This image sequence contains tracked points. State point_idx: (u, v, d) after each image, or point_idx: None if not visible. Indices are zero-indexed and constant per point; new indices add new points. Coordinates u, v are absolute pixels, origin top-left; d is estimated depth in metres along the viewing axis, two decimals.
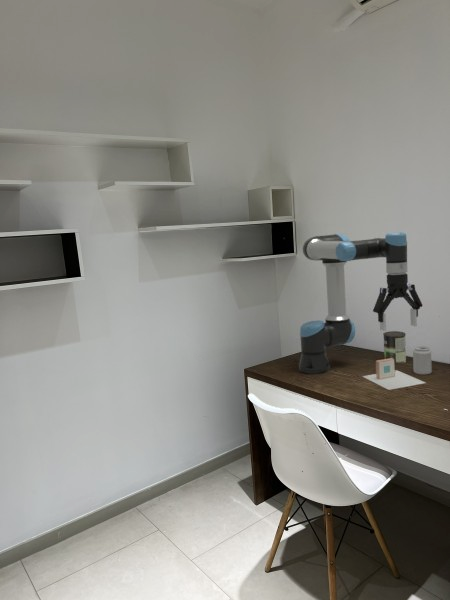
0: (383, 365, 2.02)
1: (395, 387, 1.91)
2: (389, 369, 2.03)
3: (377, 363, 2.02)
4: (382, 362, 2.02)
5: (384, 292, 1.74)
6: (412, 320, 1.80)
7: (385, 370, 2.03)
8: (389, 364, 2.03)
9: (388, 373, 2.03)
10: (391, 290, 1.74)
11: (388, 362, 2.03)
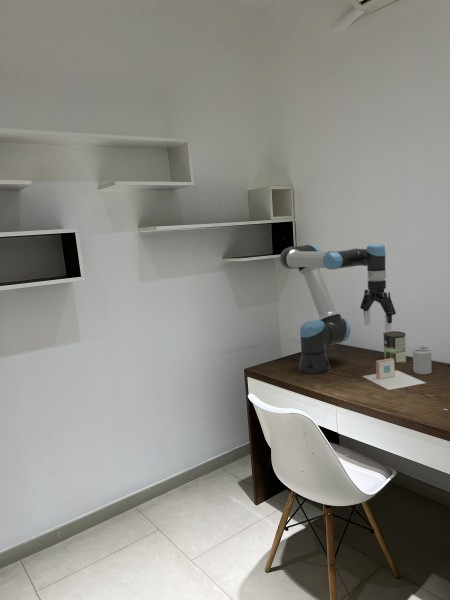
0: (383, 365, 2.02)
1: (395, 387, 1.91)
2: (389, 369, 2.03)
3: (377, 363, 2.02)
4: (382, 362, 2.02)
5: (365, 293, 2.07)
6: None
7: (385, 370, 2.03)
8: (389, 364, 2.03)
9: (388, 373, 2.03)
10: (369, 293, 2.04)
11: (388, 362, 2.03)
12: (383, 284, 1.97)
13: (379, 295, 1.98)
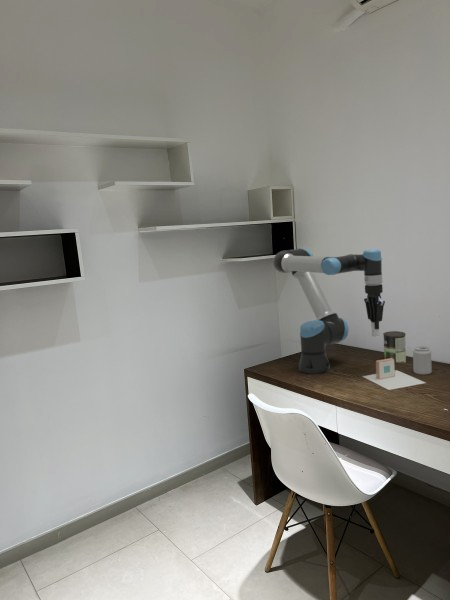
0: (383, 365, 2.02)
1: (395, 387, 1.91)
2: (389, 369, 2.03)
3: (377, 363, 2.02)
4: (382, 362, 2.02)
5: (365, 302, 2.11)
6: None
7: (385, 370, 2.03)
8: (389, 364, 2.03)
9: (388, 373, 2.03)
10: (367, 297, 2.09)
11: (388, 362, 2.03)
12: (379, 288, 2.02)
13: (375, 299, 2.03)
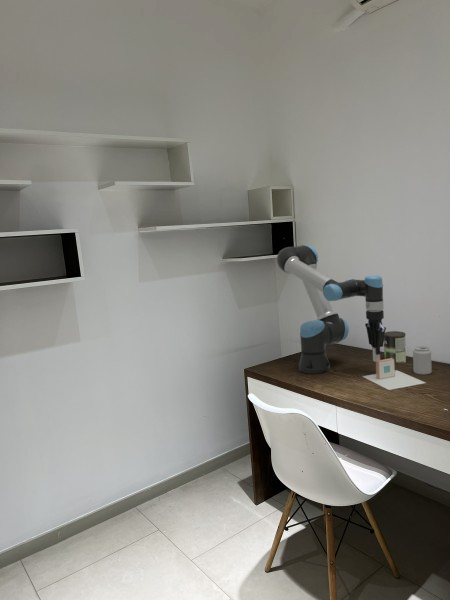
0: (383, 365, 2.02)
1: (395, 387, 1.91)
2: (389, 369, 2.03)
3: (377, 363, 2.02)
4: (382, 362, 2.02)
5: (366, 327, 2.13)
6: None
7: (385, 370, 2.03)
8: (389, 364, 2.03)
9: (388, 373, 2.03)
10: (368, 322, 2.10)
11: (388, 362, 2.03)
12: (380, 314, 2.04)
13: (376, 325, 2.04)
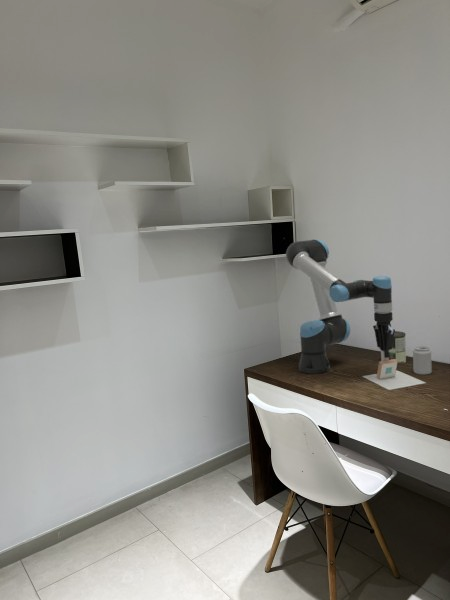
0: (385, 367, 2.00)
1: (395, 387, 1.91)
2: (391, 370, 2.02)
3: (380, 364, 2.00)
4: (385, 364, 2.00)
5: (374, 329, 2.06)
6: None
7: (387, 371, 2.02)
8: (391, 365, 2.01)
9: (389, 373, 2.03)
10: (377, 324, 2.04)
11: (391, 364, 2.01)
12: (389, 316, 1.97)
13: (385, 327, 1.98)
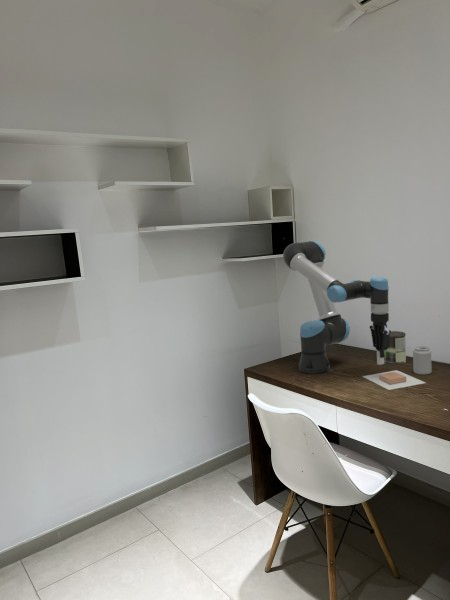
0: None
1: (395, 387, 1.91)
2: None
3: (388, 381, 1.96)
4: None
5: (370, 329, 2.09)
6: None
7: None
8: None
9: None
10: (373, 324, 2.07)
11: None
12: (385, 317, 2.00)
13: (381, 328, 2.01)
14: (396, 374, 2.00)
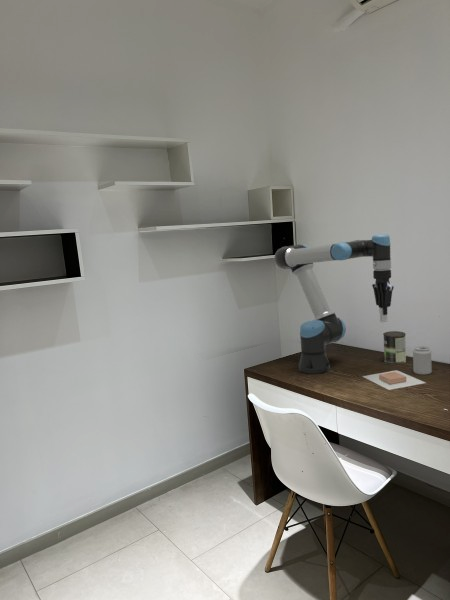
0: None
1: (395, 387, 1.91)
2: None
3: (388, 381, 1.96)
4: None
5: (373, 287, 2.10)
6: None
7: None
8: None
9: None
10: (376, 282, 2.08)
11: None
12: (388, 273, 2.01)
13: (384, 284, 2.02)
14: (396, 374, 2.00)
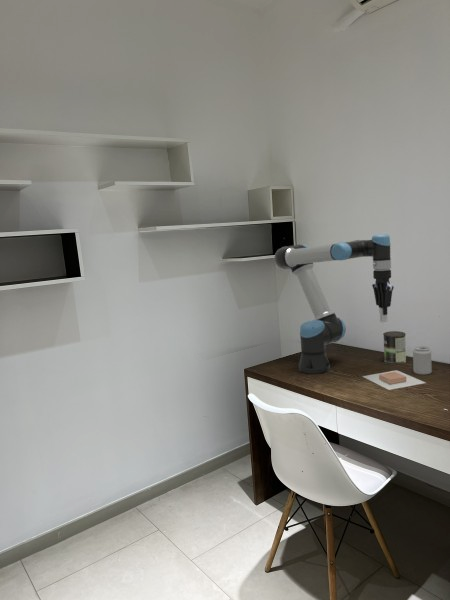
0: None
1: (395, 387, 1.91)
2: None
3: (388, 381, 1.96)
4: None
5: (373, 287, 2.10)
6: None
7: None
8: None
9: None
10: (376, 282, 2.08)
11: None
12: (388, 273, 2.01)
13: (384, 284, 2.02)
14: (396, 374, 2.00)
